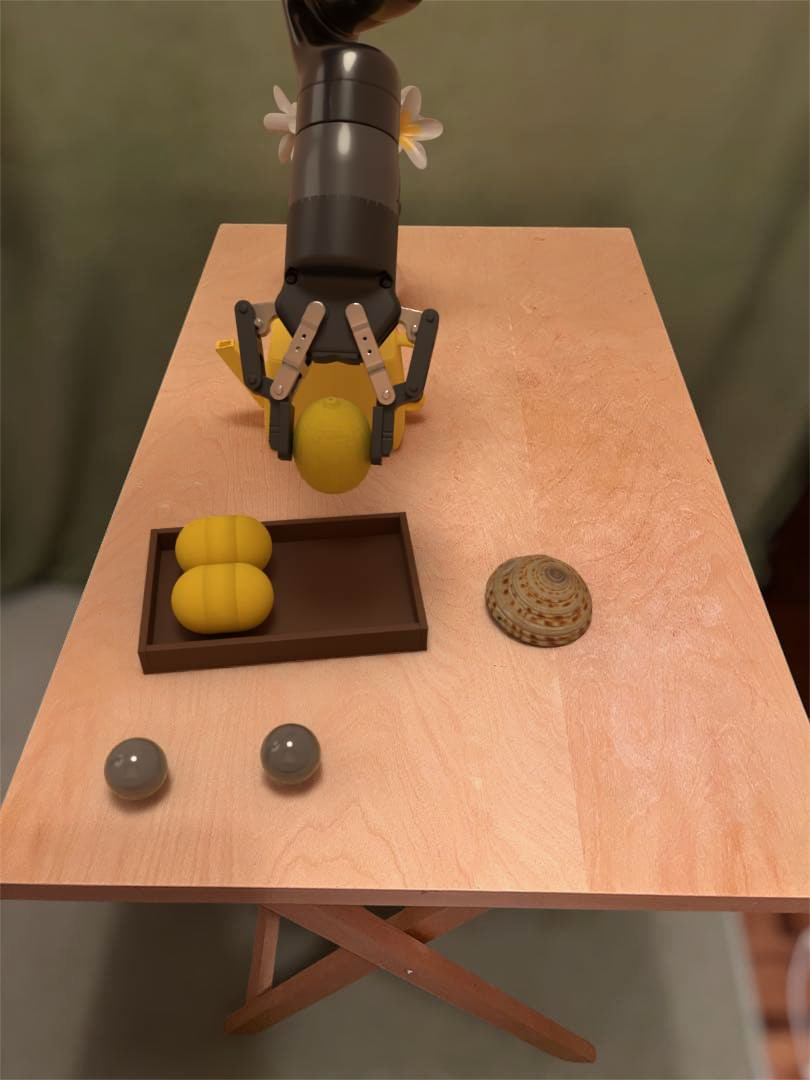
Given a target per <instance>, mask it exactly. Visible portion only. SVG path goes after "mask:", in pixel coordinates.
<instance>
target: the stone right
mask: <svg viewBox="0 0 810 1080" xmlns="http://www.w3.org/2000/svg"><path fill="white" fill-rule="evenodd" d="M321 756H322V750H321V745H320V741H319V740H318V737H317V735H316V734H315V733H314V732H313V730H311V729H310V728H308V727H307V726H305V725H304V724H300V723H298V722H297V723H296V722H287V723H283V724H280V725H279V724H278V725H277V726H276V727H274V728H272V729H271V730H270V731H269V732H268V733H267V735H266V736H265V737H264V739H263V741H262V744H261V745H260V750H259V759H260V764H261V766H262V769H263V771H264V772H265V774H266V775H267V776H268V777H269V778H270V779H271V780H272V781H274V782H276V783H278V784H281V785H284V786H293V785H298V784H302V783H304V782H305V781H307V780H309V778H311V777H312V776H313V775H314V774H315V772H316V771H317V769H318V768H319V766H320V762H321V758H322V757H321Z"/></svg>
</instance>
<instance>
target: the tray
mask: <svg viewBox="0 0 810 1080" xmlns="http://www.w3.org/2000/svg"><path fill="white" fill-rule="evenodd" d="M260 522H261V523H262V524H263V525H264V526H265V527H266V529H267V531H268V532H269V534H270V537H271V541H272V553H271V557H270V560H269V562H268V564H267V565H266V566H265V568H264V569H263V570H262V572H263V573H264V574H265V575H266V576H267V577H268V579H269V580H270V582H271V585H272V587H273V593H274V601H273V606H272V609H271V611H270V613H269V615H268V616H267V618H266V619H265V620H264V621H263V622H262V623H261V624H260V625H258V626H257V627H255V628H253V629H250V630H246V631H240V632H228V633H215V634H201V633H196V632H193V631H191V630H189V629H187V628H186V627H184V626H183V625H182V624H181V623H180V622H179V621H178V619H177V618H176V616H175V614H174V612H173V609H172V603H171V597H172V592H173V588H174V586H175V584H176V582H177V581H178V579H179V578H180V577H181V576H182V575H183V574H184V573H185V572H184V570H183V569H182V568H181V566H180V565H179V563H178V561H177V558H176V552H175V546H176V541H177V538H178V536H179V534H180V532H181V531H182V529H183V528H184V527H185V526H175V527H161V528H160V527H159V528H151V529H150V533H149V542H148V550H147V551H148V552H147V559H146V560H147V561H146V562H147V563H146V571H145V580H144V587H143V597H142V598H143V599H142V607H141V616H140V626H139V634H138V642H137V643H138V644H137V655H138V658H139V663H140V666H141V669H142V673H143V675H150V674H161V673H173V672H186V671H197V670H210V669H211V670H212V669H220V668H221V669H222V668H233V667H245V666H255V665H256V666H257V665H268V664H279V663H281V664H282V663H289V662H290V663H293V662H304V661H305V662H306V661H314V660H315V661H316V660H325V659H326V660H329V659H339V658H341V659H342V658H351V657H352V658H353V657H363V656H375V655H386V654H387V655H388V654H397V653H398V654H399V653H409V652H410V653H411V652H422V651H427V650H428V640H429V626H428V619H427V614H426V609H425V605H424V598H423V594H422V589H421V584H420V579H419V574H418V568H417V563H416V558H415V553H414V548H413V542H412V537H411V531H410V526H409V521H408V516H407V511H398V512H397V511H396V512H395V511H394V512H382V513H381V512H380V513H379V512H378V513H368V514H367V513H366V514H352V515H350V514H349V515H336V516H335V515H334V516H322V517H320V516H319V517H308V518H295V519H294V518H293V519H292V518H291V519H277V520H263V521H261V520H260Z"/></svg>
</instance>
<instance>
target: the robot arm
mask: <svg viewBox="0 0 810 1080" xmlns="http://www.w3.org/2000/svg"><path fill="white" fill-rule="evenodd" d="M422 1H423V0H280V5H281V8H282V9H281V10H282V13H283V18H284V23H285V27H286V32H287V37H288V42H289V47H290V53H291V57H292V62H293V65H294V70H295V71H294V72H295V76H296V80H297V97H296V102H297V112H296V131H295V145H294V152H293V157H292V160H291V162H290V169H289V175H288V177H289V178H288V193H287V211H286V230H285V231H286V233H285V249H284V250H285V252H284V267H283V268H284V269H283V270H284V272H283V275H284V276H283V282H282V286H281V289H280V291H279V293H278V294H277V296H276V297H275V300H274V301H265V302H260V303H251V302H250V301H249V300H246V299H241V300H238V301H237V302H236V303H235V305H234V307H233V308H234V309H233V310H234V319H235V326H236V334H237V341H238V342H237V343H238V344H239V350H240V358H241V366H242V374H243V381H244V384H245V386H246V387H247V388H248V389H249V390H250V391H251V392H252V393H253V394H255V395H259V396H262V397H264V398H266V399H268V400H269V402H270V422H269V439H268V445H269V447H270V450H272V451H273V452H275V453H277V459H278V460H280V461H282V462H283V461H285V462H292V461H293V456H294V455H293V435H294V418H295V407H294V406H293V405H292V401H293V399H294V397H295V395H296V393H297V391H298V389H299V387H300V385H301V383H302V381H303V379H304V378H305V377H306V376H307V374H308V372H309V370H310V368H311V366H312V364H313V362H314V363H316V364H328V363H333V362H341V363H344V364H347V365H360V363H364V366H365V369H366V371H367V374H368V377H369V379H370V382H371V384H372V387H373V389H374V392H375V395H376V397H377V400H376V406H373V419H372V439H371V464H372V465H371V466H383V458H390V457H391V455H392V453H393V452H394V450H393V440H394V419H395V412H396V410H397V409H398V408H399V407H400V406H402V405H405V404H408V403H417V402H419V401H420V400H421V399H422V397H423V392H424V393H425V388H426V383H427V380H428V375H429V371H430V367H431V362H432V358H433V355H434V349H435V345H436V340H437V336H438V332H439V327H440V314H439V313H438V310H436V309H435V308H426V309H424V310H418V309H414V308H409V307H406V306H402V304H401V301H400V300H399V297H397V295H396V268H397V263H398V245H399V225H400V216H401V211H402V203H401V170H400V169H401V168H400V158H399V155H400V153H399V149H398V148H399V132H400V111H401V90H402V81H401V76H400V71H399V68H398V66H397V64H396V62H395V60H393V58H392V57H391V56H390V55H389V54H387V53H386V52H385V51H383V49H380V48H378V47H376V46H373V45H370V44H367V43H363V42H358V40H359V38H360V35H362V34H364V33H367V32H369V31H371V30H374V29H375V28H378V27H380V26H382V25H385V24H387V23H390V22H391V21H394V20H397V19H398V18H401V17H403V16H405V15H407V14H408V13H410V12H412V11H413V10H414V9H416V8H417V7H418V6H419V5H420V4H421V3H422ZM277 318H279V319H280V320H281V322H282V324H283V325H284V327H285V328H286V330H287V331H288V333H289V334H290V336H291V337H292V341H291V343H290V345H289V347H288V349H287V351H286V353H285V355H284V358H283V361H282V365H281V367H280V369H279V371H278V373H277V375H276V377H275V379H274V380H273V379H271V378H268V377H266V369H265V362H266V361H265V356H264V348H263V347H264V346H263V339H262V338H265V337H267V336H269V334H270V332H271V327H272V326H271V325H272V324H273V321H274V320H275V319H277ZM398 325H402V326H403V327H404V328H405V333H406V337H407V340H408V341H409V342H410V343H412V344H414V349H413V348H412V354H411V357H410V362H409V365H408V370H407V375H406V378H405V382H403V383H400V384H397V385H393V386H392V384H391V381H390V378H389V376H388V373H387V371H386V368H385V365H384V362H383V359H382V357H381V354H380V351H379V348H380V346H381V345H382V344H383V343H384V341H385V340H386V339H387V338H388V336H389V335H390V334H391V333H392V332H393V330H394V329H395V328H396V327H397V328H398ZM298 348H299V349H298ZM297 349H298V350H297ZM305 358H306V359H305Z"/></svg>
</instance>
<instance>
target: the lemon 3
mask: <svg viewBox="0 0 810 1080" xmlns="http://www.w3.org/2000/svg"><path fill="white" fill-rule="evenodd" d="M371 439H372V432H371V429H370V426H369V423H368V421H367V418H366V416H365V415H364V413H363V412H362V411H361V410H360V409H359V408H358V407H357V406H356V405H355V404H353V403H352V402H350V401H348V400H345V399H342V398H338V397H327V398H323V399H319V400H317V401H315V402H313V403H312V404H310V405H309V406H308V407H307V408H305V410H304V411H303V412H302V413H301V415H300V416H299V419H298V421H297V424H296V427H295V430H294V435H293V455H292V456H293V461H294V464H295V467H296V470H297V472H298V473H299V475H300V477H301V479H302V480H303V481H304V482H305V484H307V485H308V487H311V488H312V489H314V490H315V491H317V492H319V493H321V494H326V495H343V494H346V493H348V492H351V491H353V490H354V489H355V488H357V487H359V486H360V485H361V484H362V483H363V482H364V480H365V479H367V476H368V474H369V472H370V470H371V467H372V466H373V465H372V464H371Z"/></svg>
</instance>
